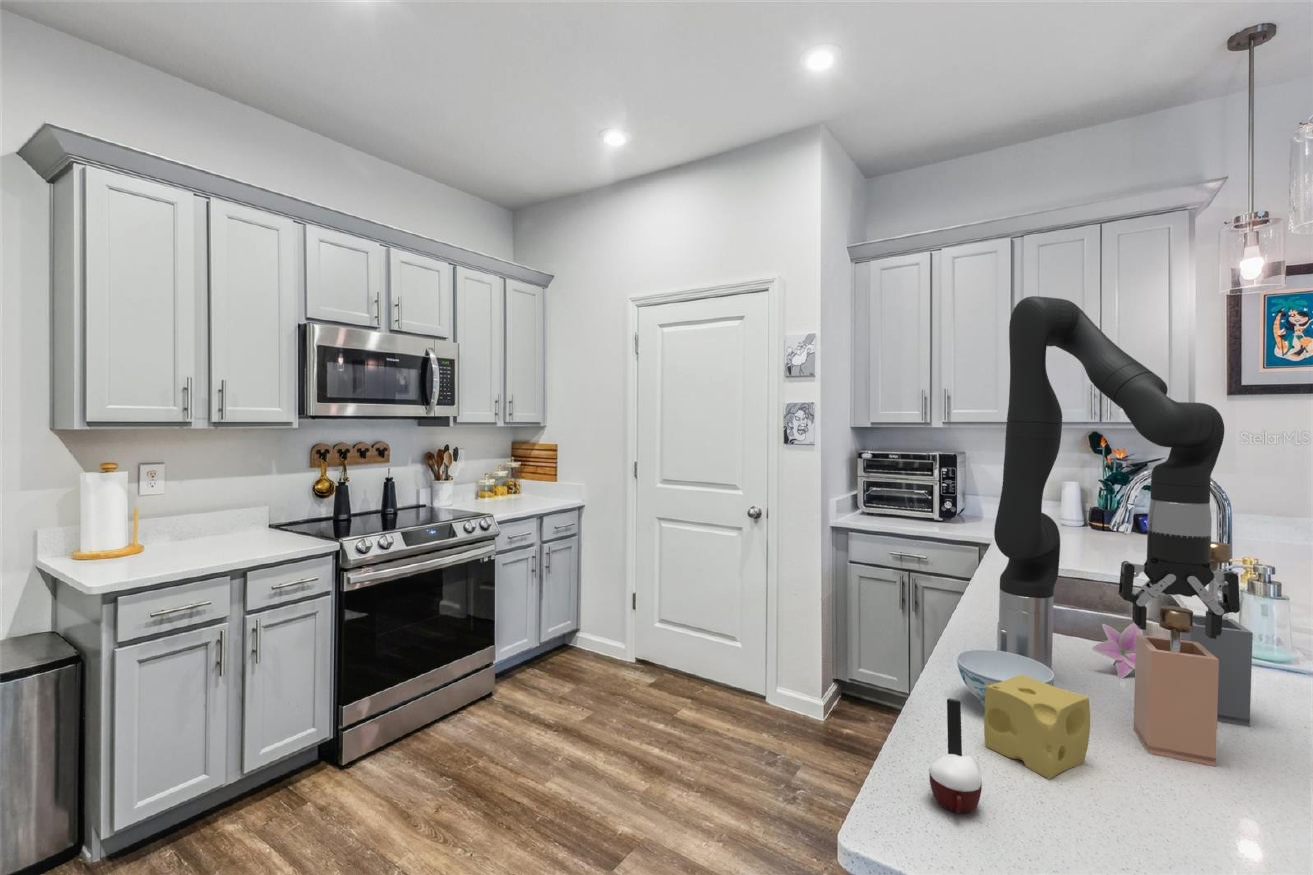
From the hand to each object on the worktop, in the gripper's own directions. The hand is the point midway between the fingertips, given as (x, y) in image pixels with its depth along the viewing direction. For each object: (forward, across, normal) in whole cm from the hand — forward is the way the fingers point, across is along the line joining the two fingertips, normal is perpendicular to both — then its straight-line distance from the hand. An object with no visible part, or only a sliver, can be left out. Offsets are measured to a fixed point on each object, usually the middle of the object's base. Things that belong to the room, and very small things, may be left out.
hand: (1175, 632), depth 94 cm
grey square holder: (+18, +10, +18) cm, 27 cm away
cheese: (+18, -20, -12) cm, 30 cm away
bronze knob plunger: (+13, 0, 0) cm, 13 cm away
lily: (+18, +1, +32) cm, 37 cm away
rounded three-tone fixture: (+18, -31, -31) cm, 48 cm away
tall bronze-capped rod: (+5, +10, +18) cm, 21 cm away
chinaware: (+18, -23, +3) cm, 30 cm away
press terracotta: (+18, 0, 0) cm, 18 cm away
